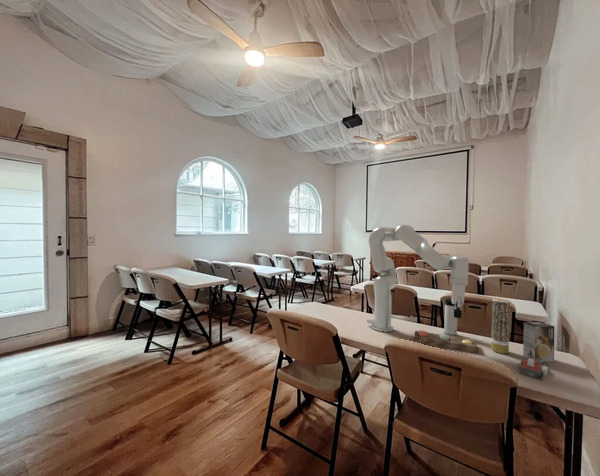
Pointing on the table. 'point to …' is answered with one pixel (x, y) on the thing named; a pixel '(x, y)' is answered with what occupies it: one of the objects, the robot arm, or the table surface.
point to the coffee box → (538, 341)
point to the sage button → (444, 337)
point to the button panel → (447, 342)
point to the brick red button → (422, 333)
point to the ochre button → (466, 341)
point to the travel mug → (450, 319)
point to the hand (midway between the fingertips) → (457, 317)
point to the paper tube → (500, 325)
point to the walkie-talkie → (533, 368)
